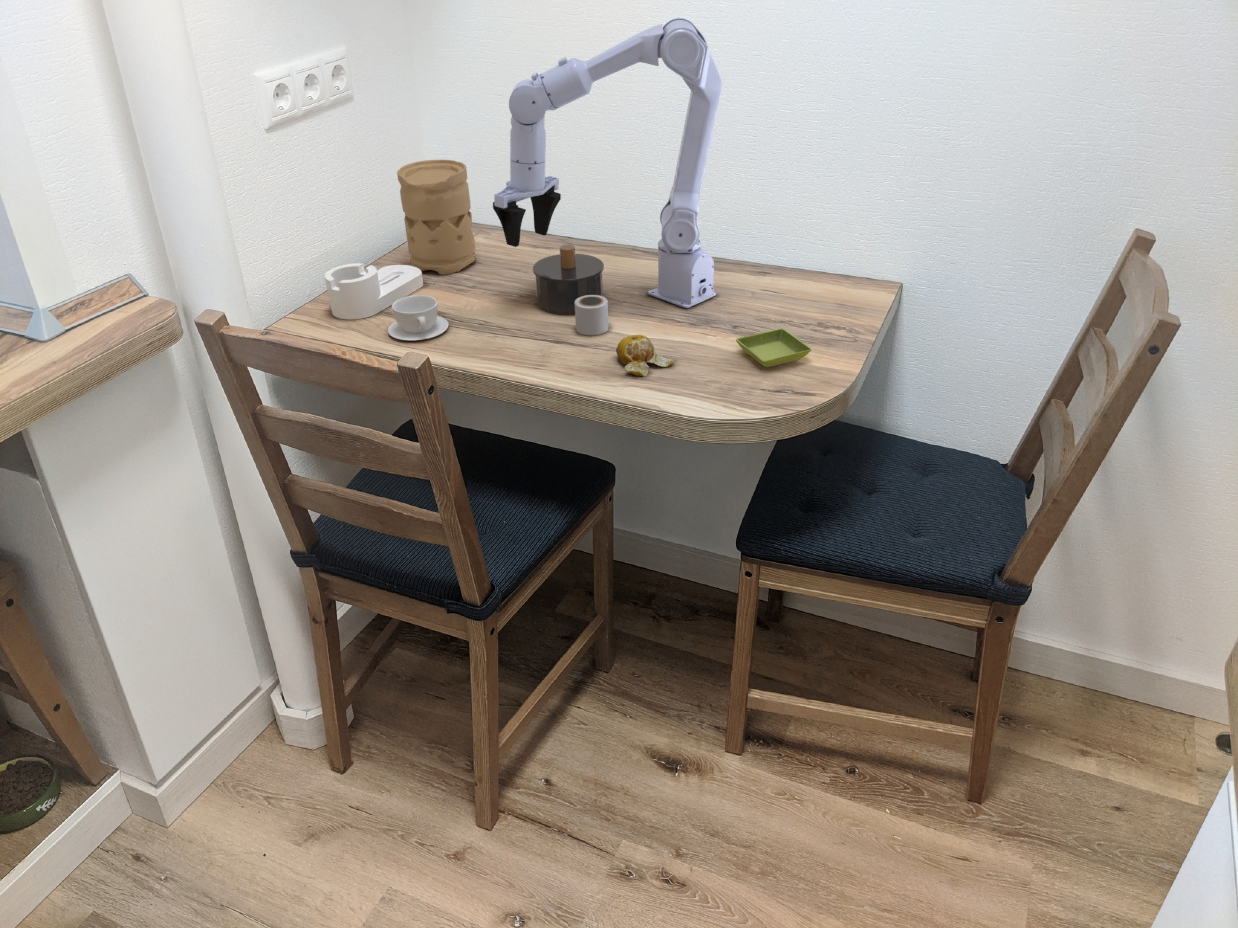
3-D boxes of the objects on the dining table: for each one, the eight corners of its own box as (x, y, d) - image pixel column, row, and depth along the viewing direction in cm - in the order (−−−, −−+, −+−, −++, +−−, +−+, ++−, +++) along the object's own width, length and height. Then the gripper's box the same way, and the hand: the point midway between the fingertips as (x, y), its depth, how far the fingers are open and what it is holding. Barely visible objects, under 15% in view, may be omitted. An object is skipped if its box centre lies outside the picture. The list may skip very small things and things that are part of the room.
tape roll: (615, 328, 158) (614, 300, 155) (591, 338, 155) (590, 310, 152) (593, 318, 161) (591, 291, 159) (569, 329, 158) (567, 301, 156)
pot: (616, 300, 168) (615, 268, 164) (567, 320, 161) (565, 287, 158) (572, 283, 174) (570, 252, 171) (524, 302, 168) (521, 270, 165)
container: (471, 274, 179) (460, 178, 170) (405, 275, 180) (390, 180, 170) (480, 250, 190) (470, 158, 180) (417, 251, 190) (404, 160, 180)
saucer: (762, 373, 143) (763, 361, 142) (733, 350, 150) (734, 338, 149) (812, 361, 146) (813, 349, 145) (781, 339, 153) (782, 327, 152)
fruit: (633, 379, 143) (633, 357, 141) (602, 359, 148) (601, 338, 146) (677, 364, 146) (677, 342, 144) (645, 345, 152) (645, 324, 150)
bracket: (360, 323, 162) (353, 286, 159) (321, 314, 166) (313, 278, 162) (431, 281, 177) (426, 246, 173) (394, 274, 180) (388, 240, 177)
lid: (618, 271, 165) (617, 246, 162) (565, 292, 158) (564, 266, 155) (571, 254, 172) (569, 229, 170) (518, 273, 165) (516, 248, 162)
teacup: (382, 324, 162) (378, 298, 159) (440, 313, 165) (436, 287, 162) (395, 347, 154) (390, 321, 151) (455, 335, 157) (452, 309, 154)
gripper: (536, 146, 163) (535, 223, 171) (479, 162, 153) (480, 244, 160) (569, 154, 160) (566, 233, 168) (513, 172, 150) (513, 255, 157)
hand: (527, 239), depth 164 cm, fingers open, 7 cm apart
